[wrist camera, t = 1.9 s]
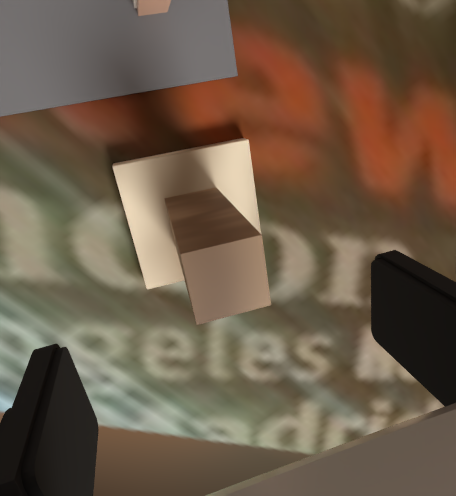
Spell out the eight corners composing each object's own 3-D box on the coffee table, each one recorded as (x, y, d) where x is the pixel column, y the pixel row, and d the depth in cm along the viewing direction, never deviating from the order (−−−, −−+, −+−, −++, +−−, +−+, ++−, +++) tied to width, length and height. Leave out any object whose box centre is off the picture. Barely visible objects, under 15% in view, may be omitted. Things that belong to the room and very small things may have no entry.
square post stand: (243, 137, 23) (315, 160, 14) (259, 253, 26) (326, 336, 17) (113, 163, 22) (96, 206, 12) (146, 281, 25) (152, 386, 16)
